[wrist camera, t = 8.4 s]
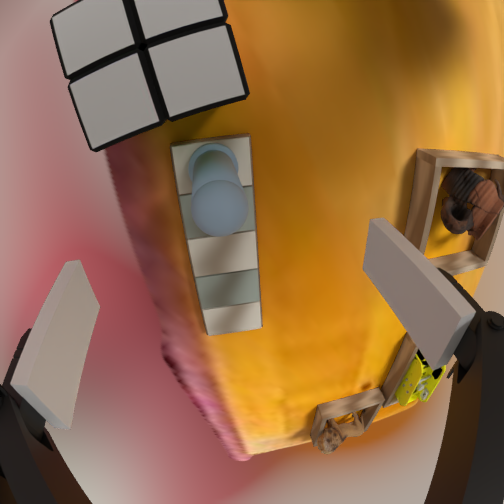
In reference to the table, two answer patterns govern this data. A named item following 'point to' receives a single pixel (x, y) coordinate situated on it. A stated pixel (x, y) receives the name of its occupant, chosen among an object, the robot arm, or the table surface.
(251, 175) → the track
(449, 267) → the frame
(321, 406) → the figurine organizer frame
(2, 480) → the robot arm
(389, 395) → the camera organizer frame
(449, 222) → the pottery mug
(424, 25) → the table surface
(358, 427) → the lion figurine
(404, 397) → the yellow toy chassis
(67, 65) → the puzzle cube
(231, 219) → the blue-grey rounded peg
